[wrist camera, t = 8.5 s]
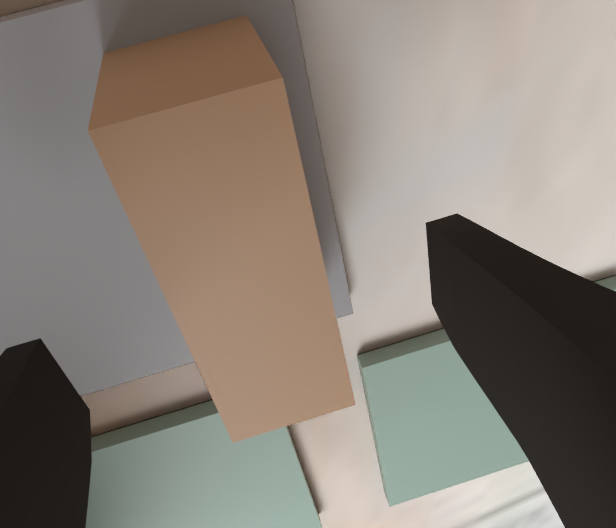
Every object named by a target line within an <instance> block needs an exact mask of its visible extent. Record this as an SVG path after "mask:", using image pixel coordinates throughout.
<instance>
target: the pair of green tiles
mask: <svg viewBox="0 0 616 528" xmlns="http://www.w3.org/2000/svg"><path fill="white" fill-rule="evenodd" d="M595 283H597V284H599V285H602V286H604V287H606V288H609V289H611V290H613V291H616V276H612V277H609V278H606V279H603V280H599V281H596V282H595ZM357 357H358V362H359V367H360V372H361V377H362V382H363V387H364V392H365V397H366V402H367V407H368V412H369V417H370V422H371V427H372V432H373V437H374V442H375V447H376V452H377V457H378V462H379V467H380V472H381V477H382V482H383V487H384V492H385V495H386V498H387V501H388V504H389V506H393V505H396V504H399V503H402V502H405V501H408V500H412V499H415V498H418V497H421V496H424V495H427V494H430V493H433V492H436V491H439V490H442V489H445V488H448V487H451V486H454V485H457V484H460V483H463V482H466V481H470V480H473V479H476V478H479V477H482V476H485V475H488V474H491V473H494V472H497V471H500V470H503V469H506V468H509V467H512V466H515V465H518V464H521V463H524V462H528V461H529V460H528V458H527V457H526V455H525V453H524V452H523V450H522V449H521V447H520V445H519V444H518V442H517V441H516V439H515V438H514V436H513V435H512V433H511V432H510V430H509V429H508V427H507V426H506V424H505V423H504V421H503V420H502V418H501V417H500V415H499V414H498V413H497V411H496V410H495V408H494V407H493V405H492V404H491V402H490V401H489V399H488V398H487V396H486V395H485V393H484V392H483V390H482V389H481V387H480V386H479V385H478V383H477V382H476V380H475V379H474V377H473V376H472V374H471V373H470V371H469V370H468V368H467V367H466V365H465V364H464V362H463V361H462V359H461V358H460V356H459V355H458V353H457V352H456V350H455V348H454V347H453V345H452V343H451V341H450V339H449V337H448V335H447V333H446V331H445V329H441V330H437V331H434V332H431V333H428V334H425V335H421V336H418V337H415V338H412V339H408V340H405V341H402V342H399V343H395V344H392V345H389V346H386V347H382V348H379V349H376V350H373V351H370V352H366V353H363V354H360V355H357ZM91 452H92V465H91V477H90V487H89V498H88V508H87V518H86V527H85V528H322V526H321V522H320V518H319V514H318V512H317V509H316V506H315V503H314V500H313V497H312V495H311V492H310V489H309V486H308V483H307V480H306V477H305V475H304V472H303V469H302V466H301V463H300V460H299V458H298V455H297V452H296V449H295V446H294V443H293V441H292V438H291V435H290V432H289V429H288V426H286V427H282V428H279V429H276V430H273V431H270V432H266V433H263V434H260V435H257V436H254V437H251V438H247V439H244V440H241V441H238V442H235V443H233V442H232V440H231V438H230V436H229V434H228V432H227V430H226V427H225V425H224V423H223V421H222V419H221V417H220V415H219V412H218V410H217V408H216V406H215V404H214V402H213V400H211V401H208V402H204V403H201V404H198V405H195V406H191V407H188V408H185V409H182V410H179V411H175V412H172V413H169V414H166V415H162V416H159V417H156V418H153V419H149V420H146V421H143V422H140V423H136V424H133V425H130V426H127V427H124V428H120V429H117V430H114V431H111V432H107V433H104V434H101V435H98V436H94V437H91Z"/></svg>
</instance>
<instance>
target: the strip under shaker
mask: <svg viewBox="0 0 616 528" xmlns="http://www.w3.org/2000/svg"><path fill="white" fill-rule="evenodd" d="M350 314H353V309H352V304H351V299H350V294H349V289H348V284H347V279H346V273H345V268H344V263H343V258H342V253H341V248H340V243H339V237H338V232H337V227H336V222H335V217H334V212H333V207H332V201H331V196H330V191H329V186H328V181H327V176H326V170H325V165H324V160H323V155H322V150H321V145H320V140H319V134H318V129H317V124H316V119H315V114H314V109H313V104H312V98H311V93H310V88H309V83H308V78H307V73H306V68H305V62H304V57H303V52H302V47H301V42H300V37H299V32H298V26H297V21H296V16H295V11H294V6H293V1H292V0H63V1H59V2H55V3H51V4H47V5H43V6H40V7H36V8H32V9H28V10H24V11H20V12H16V13H13V14H9V15H5V16H1V17H0V355H1V354H2V353H3V352H4V351H5V349H6V348H9V347H12V346H15V345H19V344H22V343H26V342H29V341H32V340H36V339H39V338H41V340H42V341H43V342H44V344H45V345H46V347H47V348H48V350H49V351H50V353H51V354H52V356H53V357H54V359H55V360H56V361H57V363H58V364H59V366H60V367H61V369H62V370H63V372H64V373H65V375H66V376H67V378H68V379H69V380H70V382H71V383H72V385H73V386H74V388H75V389H76V391H77V392H78V394H79V395H80V396H84V395H87V394H90V393H93V392H97V391H100V390H103V389H107V388H110V387H113V386H116V385H120V384H123V383H126V382H130V381H133V380H136V379H140V378H143V377H146V376H149V375H153V374H156V373H159V372H163V371H166V370H169V369H172V368H176V367H179V366H182V365H186V364H189V363H192V362H195V363H196V365H197V367H198V369H199V372H200V374H201V376H202V378H203V380H204V382H205V384H206V387H207V389H208V391H209V393H210V395H211V397H212V399H213V402H214V404H215V406H216V408H217V410H218V412H219V415H220V417H221V419H222V421H223V423H224V425H225V427H226V430H227V432H228V434H229V436H230V438H231V440H232V442H233V443H235V442H238V441H241V440H244V439H247V438H251V437H254V436H257V435H260V434H263V433H266V432H270V431H273V430H276V429H279V428H282V427H286V426H289V425H292V424H295V423H298V422H301V421H305V420H308V419H311V418H314V417H317V416H320V415H324V414H327V413H330V412H333V411H336V410H340V409H343V408H346V407H349V406H352V405H355V401H354V396H353V392H352V387H351V383H350V378H349V374H348V369H347V365H346V360H345V356H344V351H343V347H342V342H341V338H340V333H339V329H338V324H337V320H336V319H337V318H340V317H343V316H347V315H350Z"/></svg>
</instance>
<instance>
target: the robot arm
mask: <svg viewBox="0 0 616 528" xmlns="http://www.w3.org/2000/svg"><path fill="white" fill-rule="evenodd" d="M426 231H427V244H428V257H429V270H430V283H431V296H432V305H433V307H434V309H435V311H436V313H437V315H438V317H439V319H440V321H441V323H442V325H443V327H444V329H445V331H446V333H447V335H448V337H449V339H450V341H451V343H452V345H453V347H454V348H455V350H456V352H457V353H458V355H459V356H460V358H461V359H462V361H463V362H464V364H465V365H466V367H467V368H468V370H469V371H470V373H471V374H472V376H473V377H474V379H475V380H476V382H477V383H478V385H479V386H480V387H481V389H482V390H483V392H484V393H485V395H486V396H487V398H488V399H489V401H490V402H491V404H492V405H493V407H494V408H495V410H496V411H497V413H498V414H499V415H500V417H501V418H502V420H503V421H504V423H505V424H506V426H507V427H508V429H509V430H510V432H511V433H512V435H513V436H514V438H515V439H516V441H517V442H518V444H519V445H520V447H521V449H522V450H523V452H524V453H525V455H526V457H527V458H528V460H529V461H530V463H531V465H532V467H533V469H534V470H535V472H536V474H537V476H538V478H539V480H540V482H541V483H542V485H543V487H544V489H545V491H546V493H547V494H548V496H549V498H550V500H551V502H552V504H553V506H554V507H555V509H556V511H557V513H558V515H559V517H560V519H561V521H562V523H563V525H564V526H565V528H616V291H613V290H611V289H609V288H606V287H604V286H602V285H599V284H597V283H595V282H592V281H590V280H588V279H585V278H583V277H581V276H579V275H576V274H574V273H572V272H570V271H568V270H566V269H563V268H561V267H559V266H557V265H555V264H553V263H551V262H549V261H547V260H545V259H543V258H541V257H539V256H537V255H535V254H533V253H531V252H529V251H527V250H525V249H523V248H521V247H519V246H517V245H515V244H513V243H512V242H510V241H508V240H506V239H504V238H502V237H500V236H498V235H497V234H495V233H493V232H491V231H489V230H487V229H485V228H484V227H482V226H480V225H478V224H476V223H474V222H472V221H471V220H469V219H467V218H465V217H463V216H461V215H459V214H454V215H451V216H447V217H444V218H441V219H437V220H434V221H431V222H427V223H426ZM91 465H92V452H91V426H90V410H89V408H88V407H87V405H86V404H85V402H84V401H83V399H82V398H81V397H80V395H79V394H78V392H77V391H76V389H75V388H74V386H73V385H72V383H71V382H70V380H69V379H68V378H67V376H66V375H65V373H64V372H63V370H62V369H61V367H60V366H59V364H58V363H57V361H56V360H55V359H54V357H53V356H52V354H51V353H50V351H49V350H48V348H47V347H46V345H45V344H44V342H43V341H42V340H41V338H39V339H36V340H32V341H29V342H26V343H22V344H19V345H15V346H12V347H9V348H6V349H5V351H4V352H3V353H2V354H1V355H0V528H85V527H86V518H87V508H88V498H89V487H90V477H91Z"/></svg>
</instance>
